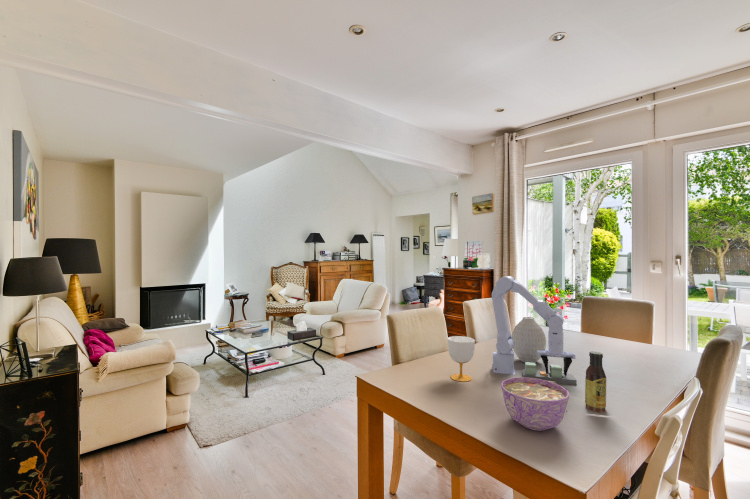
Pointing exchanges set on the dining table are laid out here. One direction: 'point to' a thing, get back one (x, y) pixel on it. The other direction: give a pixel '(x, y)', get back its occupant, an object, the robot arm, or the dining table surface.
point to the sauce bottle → (595, 384)
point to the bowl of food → (535, 402)
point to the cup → (461, 354)
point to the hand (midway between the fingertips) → (556, 374)
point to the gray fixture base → (546, 375)
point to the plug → (555, 371)
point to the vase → (528, 340)
